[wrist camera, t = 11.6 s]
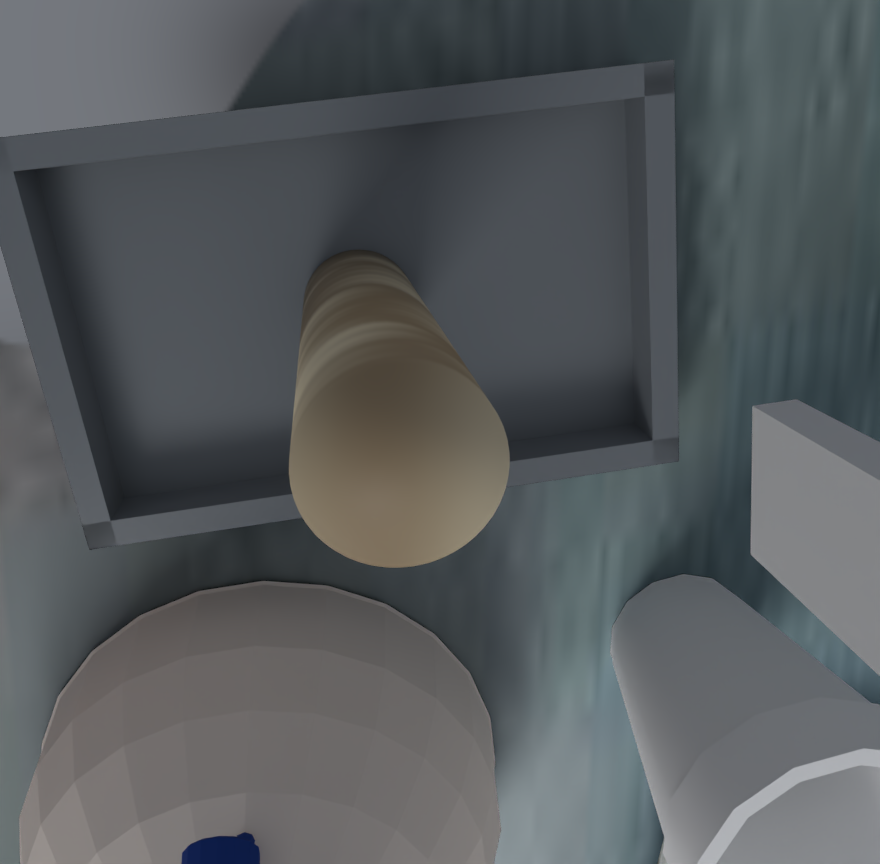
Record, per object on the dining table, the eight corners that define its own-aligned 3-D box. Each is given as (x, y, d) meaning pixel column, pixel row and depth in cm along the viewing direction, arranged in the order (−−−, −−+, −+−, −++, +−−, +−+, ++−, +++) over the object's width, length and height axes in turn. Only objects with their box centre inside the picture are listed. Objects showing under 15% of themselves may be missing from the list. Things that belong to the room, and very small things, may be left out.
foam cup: (583, 548, 35) (709, 762, 23) (787, 535, 36) (1011, 734, 24) (573, 729, 39) (680, 1000, 26) (761, 713, 40) (947, 967, 27)
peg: (313, 366, 30) (308, 583, 15) (294, 257, 29) (270, 379, 14) (420, 351, 31) (517, 549, 16) (407, 242, 29) (500, 346, 14)
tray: (111, 514, 32) (89, 549, 30) (7, 140, 28) (-30, 141, 25) (651, 434, 34) (678, 461, 31) (642, 67, 29) (674, 59, 26)
